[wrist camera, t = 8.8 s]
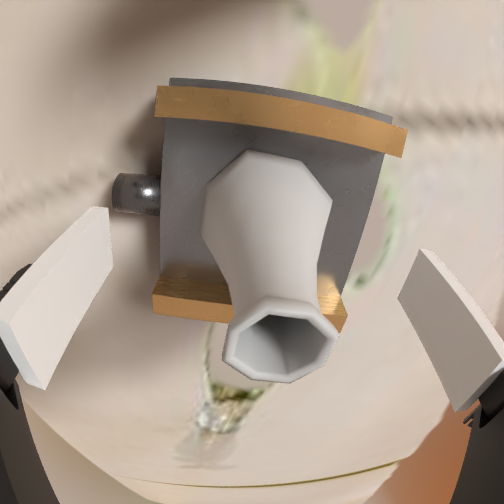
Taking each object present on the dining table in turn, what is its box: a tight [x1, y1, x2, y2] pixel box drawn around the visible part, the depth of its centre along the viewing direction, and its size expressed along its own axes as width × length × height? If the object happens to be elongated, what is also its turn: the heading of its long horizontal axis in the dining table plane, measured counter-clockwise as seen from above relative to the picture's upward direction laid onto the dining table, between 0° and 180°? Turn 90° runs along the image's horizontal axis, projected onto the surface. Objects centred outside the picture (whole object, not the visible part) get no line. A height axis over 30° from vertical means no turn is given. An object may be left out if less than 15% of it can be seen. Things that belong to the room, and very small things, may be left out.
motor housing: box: [112, 78, 408, 333], centre depth 17 cm, size 14×15×4 cm
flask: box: [200, 149, 339, 383], centre depth 12 cm, size 7×7×10 cm
